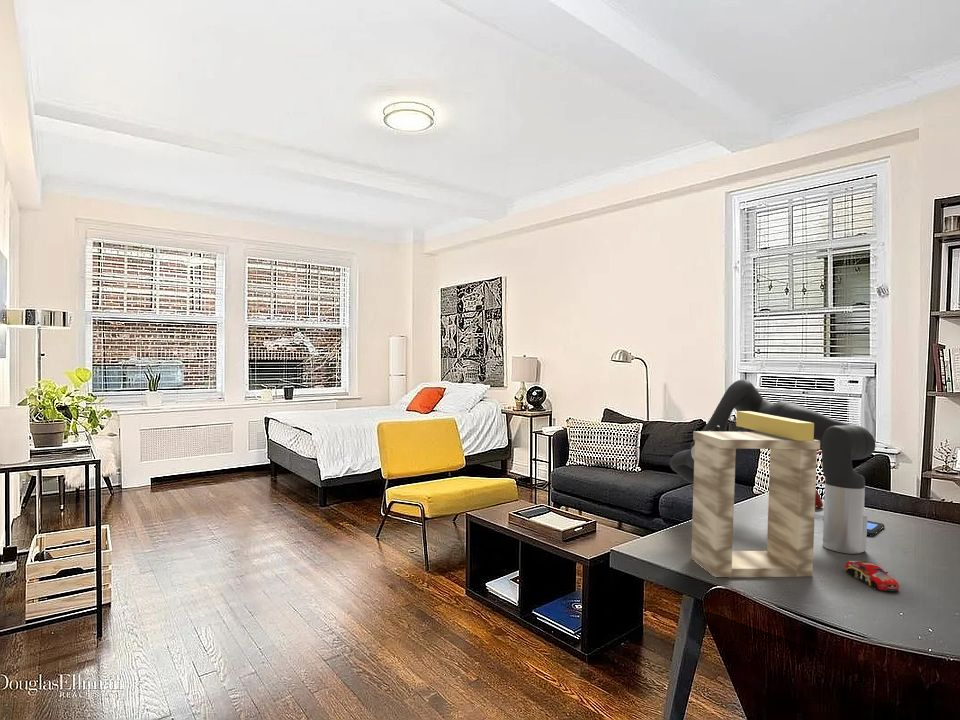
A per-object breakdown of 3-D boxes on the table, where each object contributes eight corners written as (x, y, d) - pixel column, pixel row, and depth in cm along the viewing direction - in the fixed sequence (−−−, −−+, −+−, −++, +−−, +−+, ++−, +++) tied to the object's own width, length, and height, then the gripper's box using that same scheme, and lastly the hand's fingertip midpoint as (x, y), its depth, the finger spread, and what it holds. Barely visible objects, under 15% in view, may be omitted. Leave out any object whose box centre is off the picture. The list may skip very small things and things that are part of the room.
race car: (904, 594, 131) (904, 576, 131) (880, 594, 131) (880, 576, 131) (863, 572, 145) (864, 555, 145) (841, 571, 144) (842, 555, 144)
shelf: (778, 557, 153) (783, 431, 153) (815, 577, 139) (820, 439, 139) (689, 558, 151) (693, 430, 150) (717, 579, 137) (721, 438, 136)
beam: (750, 426, 162) (750, 411, 162) (813, 440, 136) (814, 423, 136) (736, 425, 162) (736, 411, 162) (797, 440, 136) (797, 422, 136)
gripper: (683, 437, 182) (706, 416, 168) (728, 438, 183) (754, 417, 169) (688, 461, 178) (712, 441, 164) (733, 461, 180) (761, 442, 166)
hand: (734, 429), depth 167 cm, fingers open, 8 cm apart
